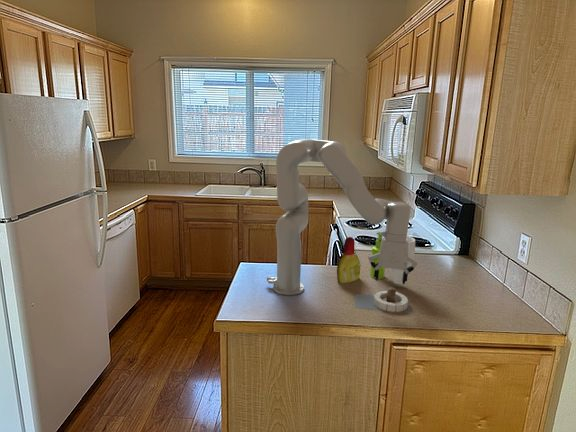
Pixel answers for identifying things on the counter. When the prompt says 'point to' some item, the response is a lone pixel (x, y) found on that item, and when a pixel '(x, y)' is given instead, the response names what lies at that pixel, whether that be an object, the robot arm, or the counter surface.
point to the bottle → (348, 263)
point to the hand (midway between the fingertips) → (389, 280)
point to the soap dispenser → (375, 251)
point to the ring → (390, 306)
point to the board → (372, 303)
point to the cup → (398, 273)
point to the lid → (390, 296)
